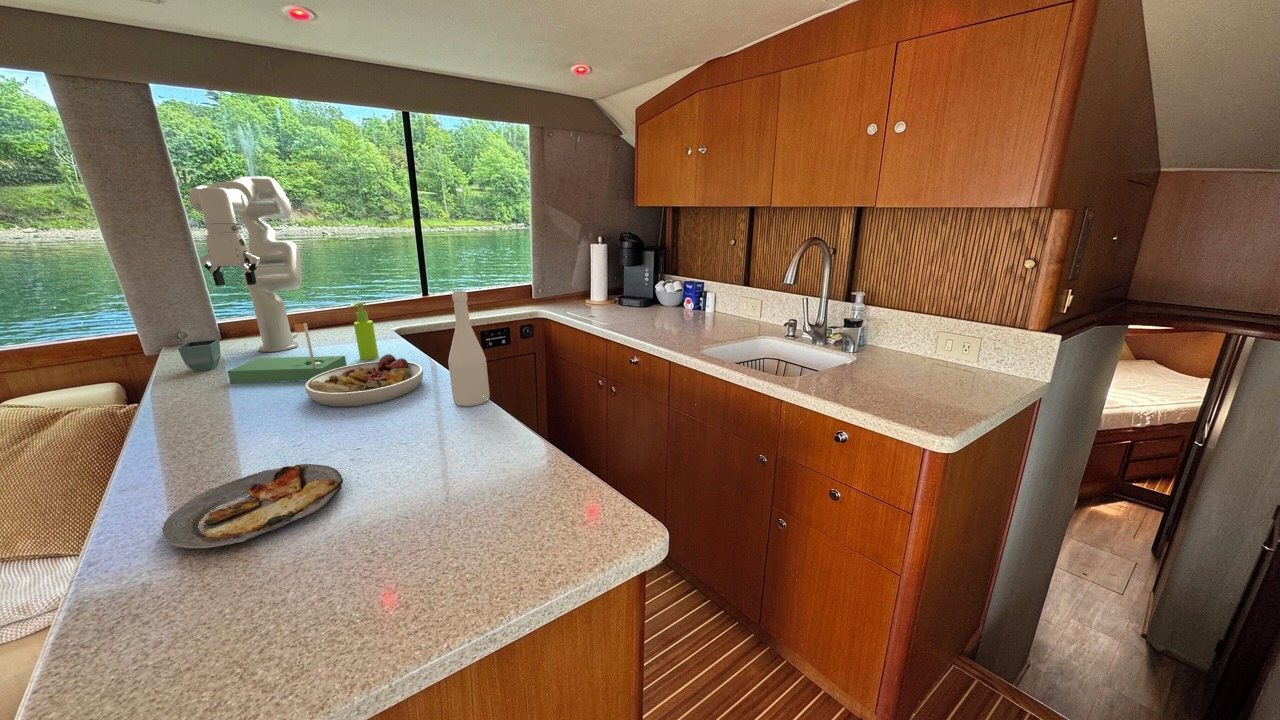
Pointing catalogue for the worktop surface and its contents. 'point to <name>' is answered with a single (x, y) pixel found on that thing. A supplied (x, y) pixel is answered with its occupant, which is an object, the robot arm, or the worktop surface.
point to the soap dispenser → (365, 334)
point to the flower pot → (201, 354)
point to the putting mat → (286, 366)
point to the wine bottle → (466, 359)
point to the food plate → (253, 505)
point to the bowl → (365, 382)
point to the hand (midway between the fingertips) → (236, 284)
